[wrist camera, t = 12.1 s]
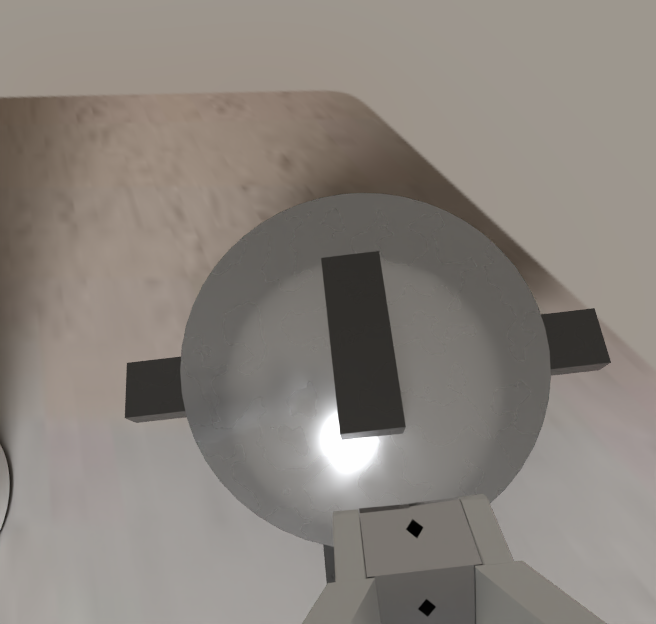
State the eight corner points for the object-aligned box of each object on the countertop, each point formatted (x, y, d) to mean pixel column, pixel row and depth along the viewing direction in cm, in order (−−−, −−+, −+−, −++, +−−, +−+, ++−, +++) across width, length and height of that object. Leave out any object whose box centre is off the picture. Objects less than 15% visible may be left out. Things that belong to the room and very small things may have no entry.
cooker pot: (188, 591, 37) (110, 623, 26) (187, 313, 44) (126, 244, 33) (582, 550, 36) (679, 564, 25) (513, 274, 44) (564, 191, 32)
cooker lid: (190, 567, 26) (164, 574, 23) (188, 227, 33) (168, 194, 30) (584, 525, 25) (617, 526, 22) (498, 188, 32) (513, 151, 29)
